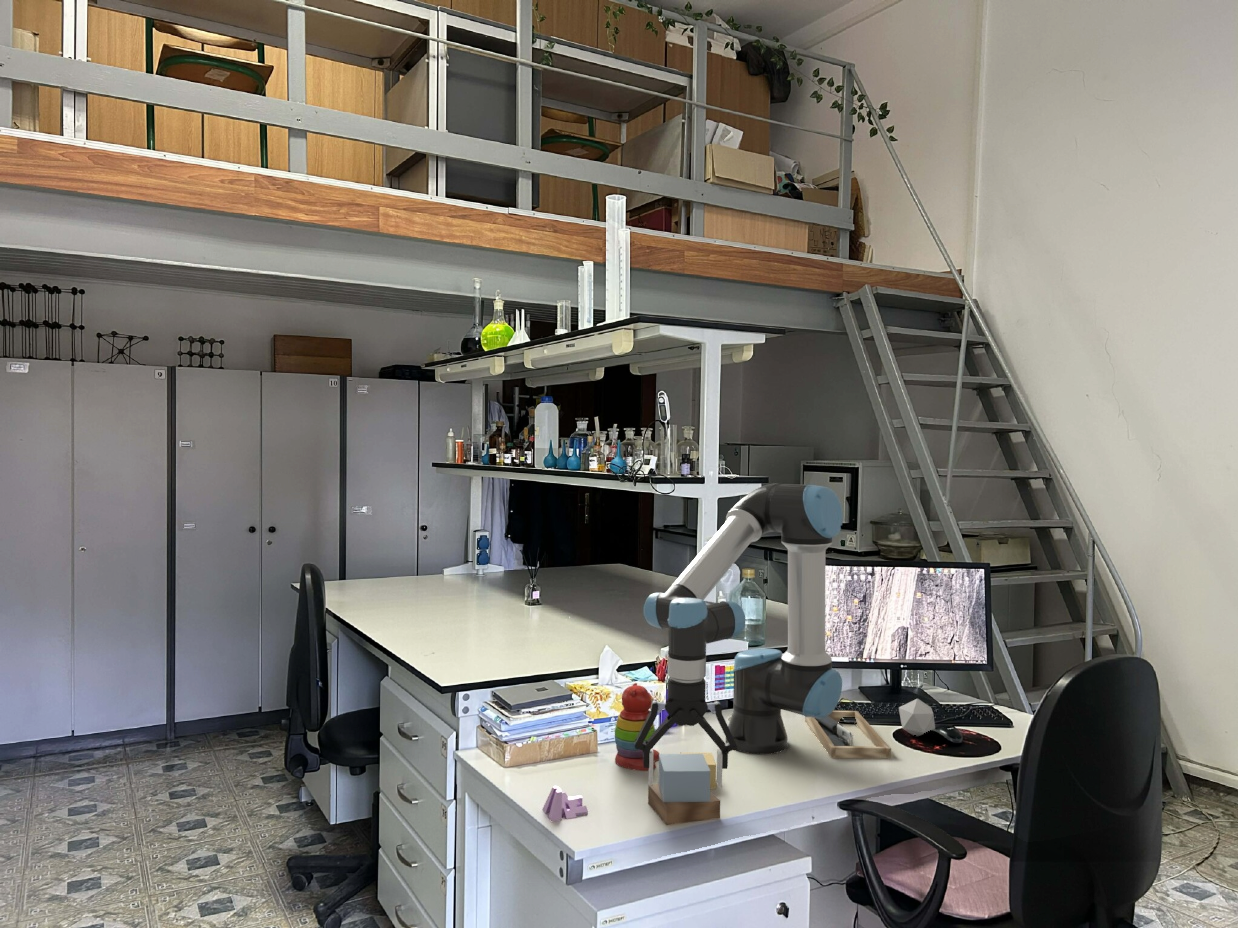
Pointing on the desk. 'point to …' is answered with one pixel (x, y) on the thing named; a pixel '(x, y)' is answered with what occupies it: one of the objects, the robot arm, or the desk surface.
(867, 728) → the wagon tray frame
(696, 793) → the blue-grey block
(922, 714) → the die
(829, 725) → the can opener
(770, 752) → the robot arm
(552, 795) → the letters
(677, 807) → the walnut base block
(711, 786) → the ochre block
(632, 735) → the stacking bear
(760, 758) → the desk surface
